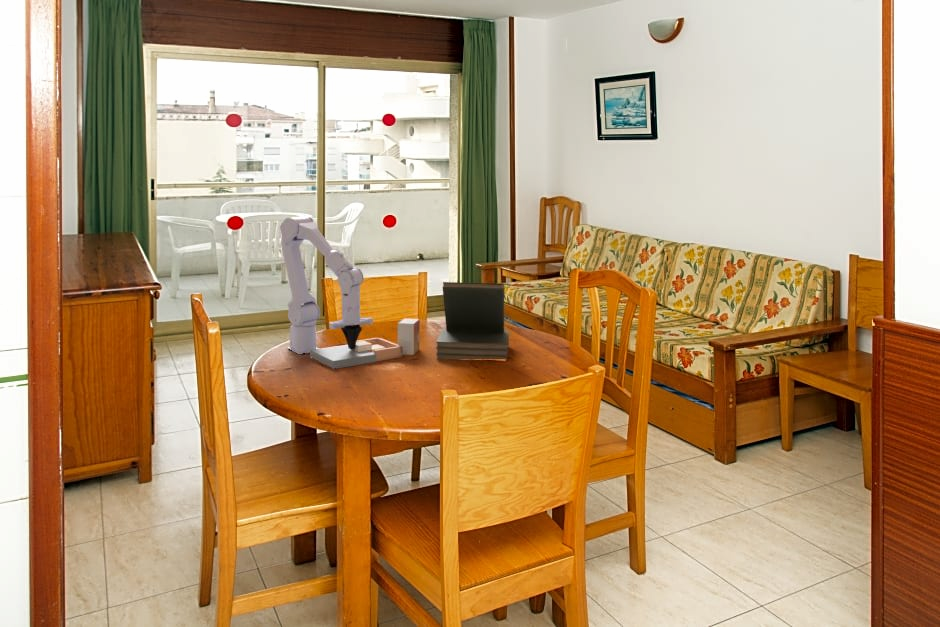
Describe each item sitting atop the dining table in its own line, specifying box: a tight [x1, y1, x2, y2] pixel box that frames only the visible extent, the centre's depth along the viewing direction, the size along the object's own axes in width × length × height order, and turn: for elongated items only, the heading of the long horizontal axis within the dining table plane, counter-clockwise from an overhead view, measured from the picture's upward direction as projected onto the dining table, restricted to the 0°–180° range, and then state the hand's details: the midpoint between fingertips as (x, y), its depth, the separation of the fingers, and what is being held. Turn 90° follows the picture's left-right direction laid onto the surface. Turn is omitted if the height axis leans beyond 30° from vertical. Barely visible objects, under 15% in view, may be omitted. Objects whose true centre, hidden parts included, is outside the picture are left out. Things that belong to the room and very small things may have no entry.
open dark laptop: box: [435, 281, 510, 360], centre depth 261 cm, size 23×20×25 cm
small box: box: [397, 318, 421, 356], centre depth 263 cm, size 8×6×10 cm
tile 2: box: [368, 344, 385, 353], centre depth 259 cm, size 5×5×2 cm
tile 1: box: [353, 340, 372, 352], centre depth 256 cm, size 5×5×2 cm
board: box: [309, 344, 377, 370], centre depth 252 cm, size 16×15×2 cm
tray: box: [356, 337, 404, 362], centre depth 260 cm, size 15×10×4 cm, turn 37°
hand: (351, 348), depth 254 cm, fingers closed
